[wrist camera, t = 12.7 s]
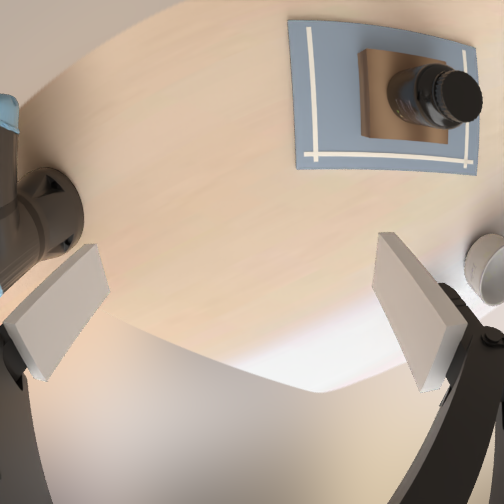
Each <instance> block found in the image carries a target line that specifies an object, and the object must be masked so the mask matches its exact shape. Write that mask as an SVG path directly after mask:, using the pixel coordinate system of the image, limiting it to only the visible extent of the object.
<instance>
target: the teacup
mask: <svg viewBox="0 0 504 504" xmlns="http://www.w3.org/2000/svg"><path fill="white" fill-rule="evenodd" d="M464 272H465V277H466V280H467V282H468V284H469V286H470V287H471V288H472V289H473V291H474V292H475V293H476V294H477V295H478V296H479V297H480V298H481V299H482V301H483V302H484V303H485V304H487V305H489V306H497V305H500V304H502V303H504V237H503V236H500V235H498V234H487V235H484V236H482V237H480V238H479V239H478V240H477V241H476V242H475V243H474V244H473V245H472V247H471V248H470V250H469V252H468V254H467V257H466V260H465V266H464Z"/></svg>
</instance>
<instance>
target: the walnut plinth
mask: <svg viewBox="0 0 504 504" xmlns="http://www.w3.org/2000/svg"><path fill="white" fill-rule="evenodd" d="M357 56H358V69H359V86H360V111H361V136H364V137H368V138H376V139H394V140H407V141H419V142H430V143H439V144H448V130H442V129H437V128H431V127H426V126H420V125H415V124H410V123H407V122H405V121H403V120H401V119H400V118H399V117H397V116H396V115H395V113H394V112H393V111H392V109H391V107H390V105H389V103H388V99H387V86H388V83H389V81H390V79H391V78H392V77H393V75H395V74H396V73H397V72H399V71H402V70H405V69H409V68H413V67H417V66H421V65H426V64H430V63H442V64H446V62H445V61H441V60H437V59H432V58H427V57H422V56H417V55H411V54H405V53H399V52H392V51H385V50H377V49H368V48H366V49H364V50H363V51H361V52H360V53H358V54H357Z"/></svg>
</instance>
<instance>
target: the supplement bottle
mask: <svg viewBox="0 0 504 504" xmlns="http://www.w3.org/2000/svg"><path fill="white" fill-rule="evenodd" d="M387 99H388V103H389V105H390V107H391V109H392V111H393V112H394V113H395V115H396V116H397V117H399V118H400V119H401V120H403V121H405V122H407V123H410V124H415V125H420V126H426V127H431V128H437V129H442V130H451V129H455V128H457V127H459V126H460V125H462V124H463V123H467V122H471V121H474V119H477V117H478V116H479V114H480V112H481V109H482V104H483V101H482V99H483V97H482V92H481V91H480V87H479V86H478V83H477V82H476V81H475V79H474V78H472V76H471V75H469V74H468V73H465V72H464V71H460V70H455V69H453V68H452V67H450V66H448V65H446V64H442V63H430V64H426V65H421V66H417V67H413V68H409V69H405V70H402V71H399V72H397V73H396V74H395V75H393V77H392V78H391V79H390V81H389V83H388V86H387Z"/></svg>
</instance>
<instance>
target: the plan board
mask: <svg viewBox="0 0 504 504" xmlns="http://www.w3.org/2000/svg"><path fill="white" fill-rule="evenodd" d="M287 23H288V34H289V46H290V60H291V74H292V90H293V107H294V127H295V151H296V169H297V170H300V169H371V170H402V171H422V172H438V173H451V174H463V175H474V176H476V175H477V164H478V149H479V116H478V117H477V119H474V121H471V122H467V123H463V124H462V125H460V126H459V127H457V128H455V129H451V130H448V144H439V143H430V142H419V141H407V140H394V139H376V138H368V137H364V136H361V111H360V86H359V69H358V56H357V54H358V53H360V52H361V51H363V50H364V49H366V48H368V49H377V50H385V51H392V52H399V53H405V54H411V55H417V56H422V57H427V58H432V59H437V60H441V61H445V62H446V65H448V66H450V67H452V68H453V69H455V70H460V71H464V72H465V73H468V74H469V75H471V76H472V78H474V79H475V81H476V82H477V83H478V68H477V57H476V48H474V47H471V46H467V45H464V44H461V43H457V42H454V41H450V40H446V39H443V38H439V37H435V36H430V35H426V34H421V33H417V32H412V31H407V30H401V29H395V28H389V27H383V26H376V25H368V24H359V23H349V22H336V21H316V20H288V22H287ZM478 86H479V83H478Z"/></svg>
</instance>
